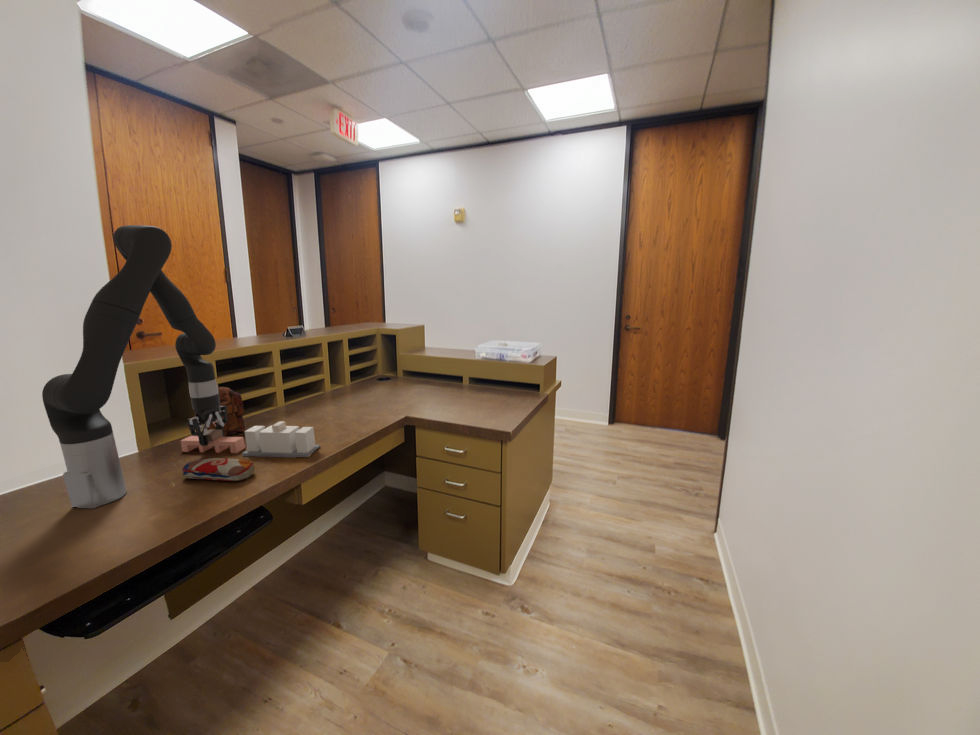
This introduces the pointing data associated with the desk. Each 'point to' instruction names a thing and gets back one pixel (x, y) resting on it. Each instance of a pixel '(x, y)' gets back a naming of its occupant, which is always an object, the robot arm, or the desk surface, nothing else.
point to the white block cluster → (280, 441)
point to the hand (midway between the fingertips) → (212, 440)
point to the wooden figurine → (231, 411)
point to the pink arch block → (214, 442)
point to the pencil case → (219, 469)
